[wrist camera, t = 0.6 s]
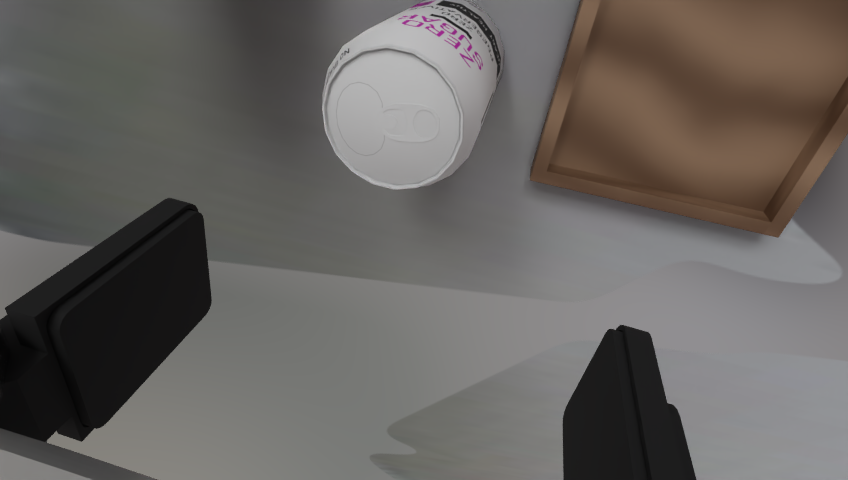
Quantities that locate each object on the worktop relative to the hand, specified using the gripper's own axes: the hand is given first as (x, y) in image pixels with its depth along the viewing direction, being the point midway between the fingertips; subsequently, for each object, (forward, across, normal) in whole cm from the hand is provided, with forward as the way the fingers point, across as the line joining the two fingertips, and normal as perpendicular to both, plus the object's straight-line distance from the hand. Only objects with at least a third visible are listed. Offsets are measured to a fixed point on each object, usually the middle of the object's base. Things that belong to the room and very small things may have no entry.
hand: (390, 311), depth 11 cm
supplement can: (+29, +4, +1) cm, 29 cm away
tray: (+28, -13, -1) cm, 31 cm away
